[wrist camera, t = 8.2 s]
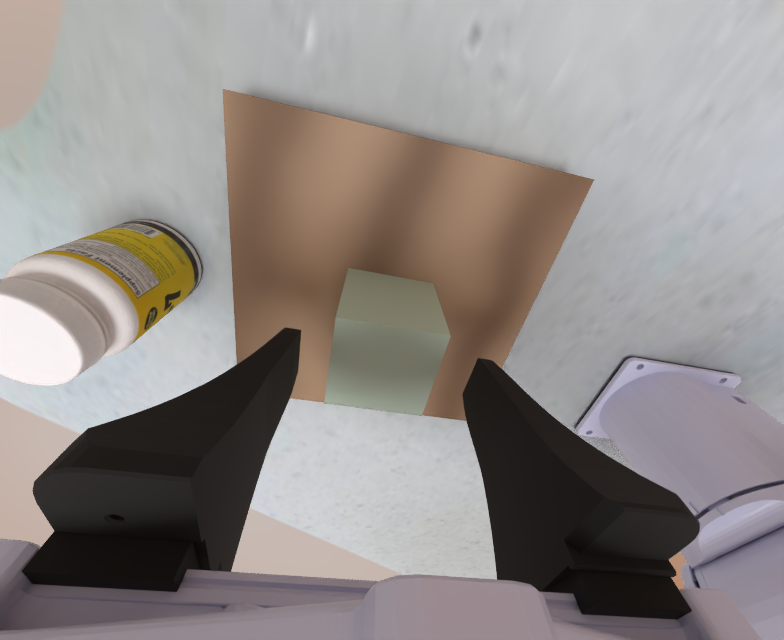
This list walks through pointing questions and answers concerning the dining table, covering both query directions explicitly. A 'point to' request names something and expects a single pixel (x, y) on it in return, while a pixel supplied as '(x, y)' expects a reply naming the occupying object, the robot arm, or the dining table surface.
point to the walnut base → (383, 234)
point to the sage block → (386, 343)
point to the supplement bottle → (90, 299)
